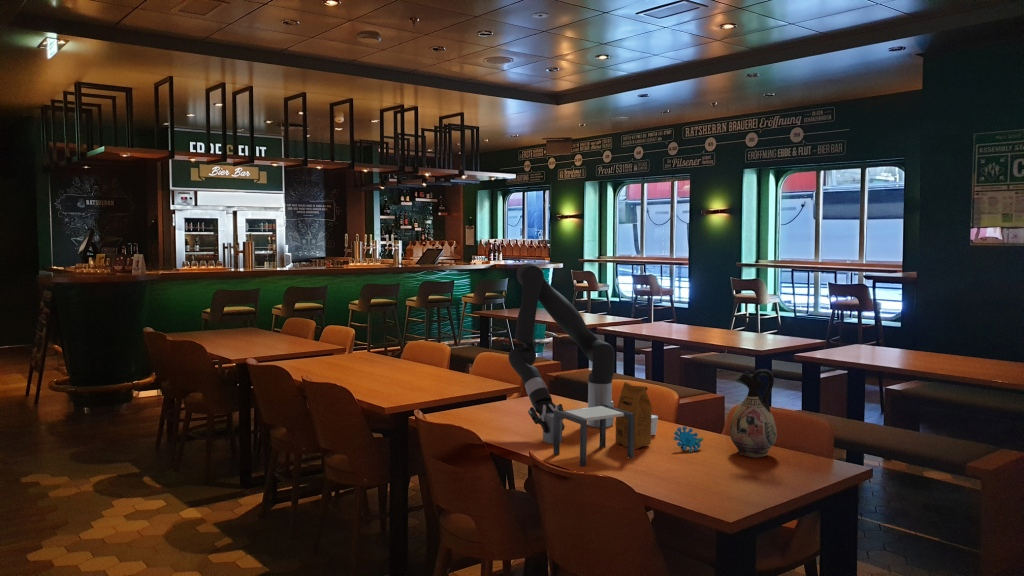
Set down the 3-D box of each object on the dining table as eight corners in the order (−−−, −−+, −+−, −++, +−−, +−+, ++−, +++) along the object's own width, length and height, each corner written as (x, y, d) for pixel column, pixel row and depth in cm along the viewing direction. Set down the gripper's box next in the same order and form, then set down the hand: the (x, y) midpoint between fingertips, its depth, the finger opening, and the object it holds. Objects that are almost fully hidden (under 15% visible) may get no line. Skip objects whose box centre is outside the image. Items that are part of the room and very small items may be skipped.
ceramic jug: (726, 457, 260) (729, 369, 258) (731, 446, 274) (733, 362, 272) (780, 463, 253) (782, 373, 252) (782, 451, 268) (784, 366, 266)
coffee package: (631, 439, 283) (632, 379, 281) (654, 446, 272) (656, 385, 271) (610, 442, 278) (611, 382, 276) (633, 450, 267) (634, 388, 266)
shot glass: (659, 433, 292) (660, 415, 292) (655, 437, 286) (655, 418, 285) (641, 431, 295) (642, 413, 294) (637, 435, 289) (637, 416, 288)
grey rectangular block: (554, 439, 281) (554, 412, 281) (562, 442, 277) (562, 415, 276) (542, 441, 279) (543, 413, 278) (550, 444, 275) (550, 416, 274)
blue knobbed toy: (678, 449, 263) (672, 424, 270) (671, 457, 268) (665, 432, 274) (707, 451, 266) (701, 426, 273) (700, 460, 270) (693, 435, 277)
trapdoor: (600, 408, 269) (600, 405, 269) (623, 416, 258) (623, 412, 258) (562, 413, 261) (562, 410, 261) (584, 421, 250) (584, 417, 250)
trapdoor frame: (602, 446, 273) (603, 404, 272) (633, 458, 258) (634, 413, 257) (553, 453, 262) (553, 410, 261) (582, 466, 247) (583, 420, 247)
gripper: (525, 388, 280) (542, 427, 270) (558, 385, 287) (576, 423, 277) (517, 400, 285) (534, 439, 275) (550, 396, 292) (567, 434, 282)
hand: (555, 431), depth 276 cm, fingers open, 5 cm apart
